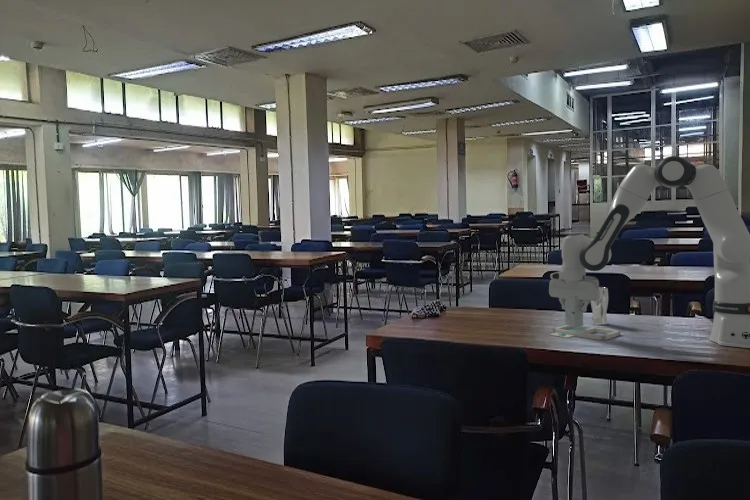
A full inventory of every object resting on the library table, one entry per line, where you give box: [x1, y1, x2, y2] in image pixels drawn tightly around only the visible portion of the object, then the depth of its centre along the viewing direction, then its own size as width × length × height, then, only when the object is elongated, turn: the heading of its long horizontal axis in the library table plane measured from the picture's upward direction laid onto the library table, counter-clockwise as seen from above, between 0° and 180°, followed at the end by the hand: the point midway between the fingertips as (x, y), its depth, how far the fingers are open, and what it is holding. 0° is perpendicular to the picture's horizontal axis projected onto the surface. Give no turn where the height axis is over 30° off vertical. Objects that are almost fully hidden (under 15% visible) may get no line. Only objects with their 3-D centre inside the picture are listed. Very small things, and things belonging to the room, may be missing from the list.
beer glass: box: [590, 286, 609, 326], centre depth 246 cm, size 7×7×15 cm
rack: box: [549, 325, 621, 341], centre depth 227 cm, size 21×17×2 cm
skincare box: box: [564, 296, 584, 327], centre depth 231 cm, size 6×4×12 cm
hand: (574, 310), depth 231 cm, fingers closed on skincare box, 7 cm apart
